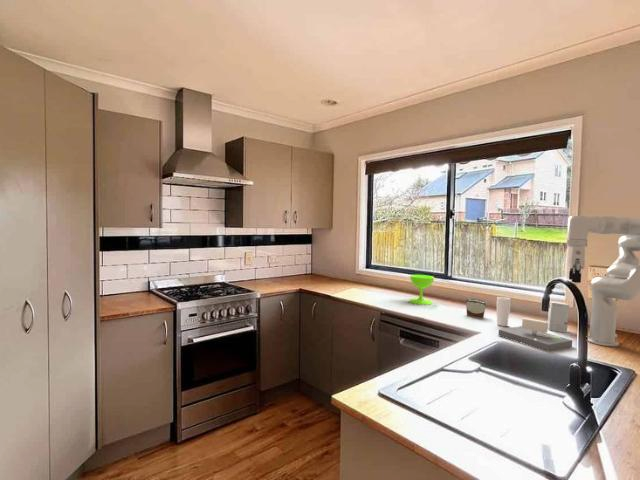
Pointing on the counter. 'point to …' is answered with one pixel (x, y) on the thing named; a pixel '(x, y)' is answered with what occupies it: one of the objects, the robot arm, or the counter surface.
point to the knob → (536, 326)
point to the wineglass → (421, 287)
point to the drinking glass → (503, 310)
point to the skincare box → (558, 316)
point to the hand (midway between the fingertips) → (574, 281)
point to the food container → (475, 307)
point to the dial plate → (535, 338)
